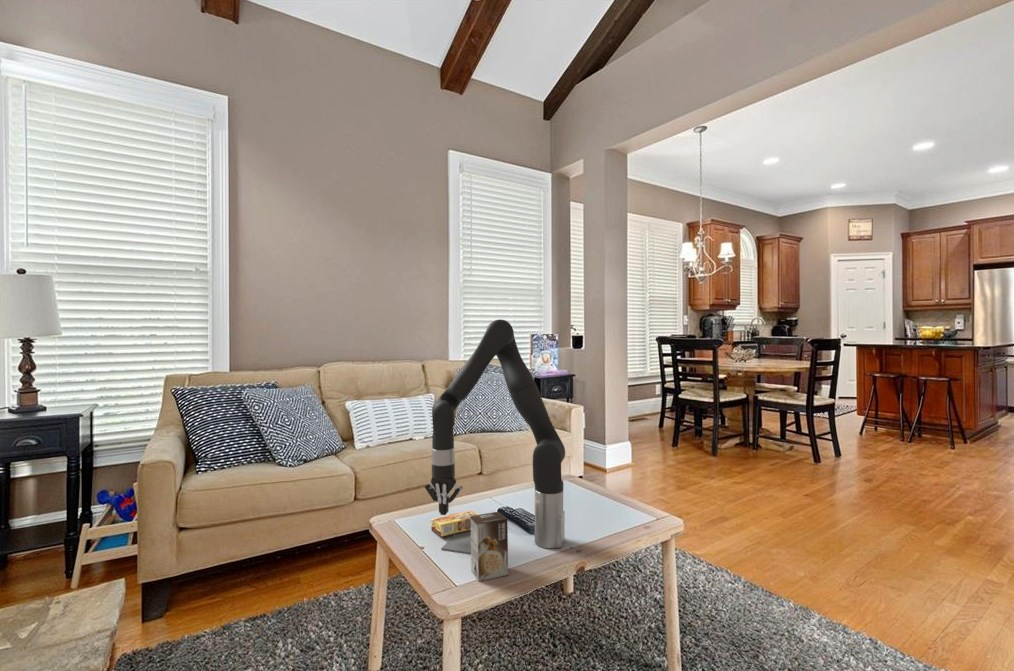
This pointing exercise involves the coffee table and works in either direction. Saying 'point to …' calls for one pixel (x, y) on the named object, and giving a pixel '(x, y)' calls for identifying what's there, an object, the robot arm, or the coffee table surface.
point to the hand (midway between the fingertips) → (443, 514)
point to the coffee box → (489, 546)
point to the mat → (459, 543)
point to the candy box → (452, 523)
